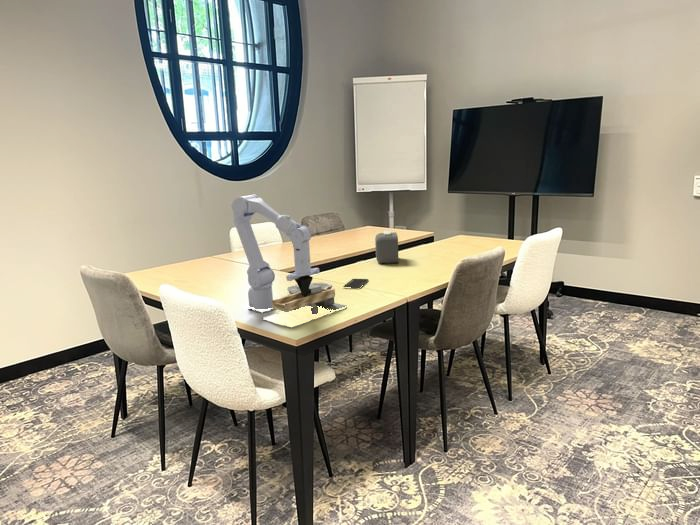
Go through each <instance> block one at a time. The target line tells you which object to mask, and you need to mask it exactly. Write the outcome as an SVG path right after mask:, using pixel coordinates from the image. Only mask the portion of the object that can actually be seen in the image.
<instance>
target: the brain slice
mask: <svg viewBox="0 0 700 525" xmlns="http://www.w3.org/2000/svg"><path fill="white" fill-rule="evenodd" d="M311 284H315V285H319V286H322V289H327V290H330V289H333V284H331V283H325V282H311V283H310V285H311ZM286 290H287V292H289V295H291V294H295V293H298V292H301V291H300V288H299V286H298V284H297V283H296V284H294V285H291V286H288V287H287V289H286Z"/></svg>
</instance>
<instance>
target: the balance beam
mask: <svg viewBox="0 0 700 525" xmlns="http://www.w3.org/2000/svg"><path fill="white" fill-rule="evenodd" d="M321 288H322V286H321ZM335 297H336V290H335V288H331V289H330V290H327V289H322V292H320V293H317V294H314V295H310V296H307V297H303V296H302V294H301V292H298V293H295V294H289V295H286V296H282V297H279V298H274V299H273V300H272V308H273V309H274V310H277V311H284V312H289V311H292V310H295V309H298V308H301V307H305V306H311V307H315V308H316V307H317V305H318V306H323V307H327V306H330V305H333V304H334V303H335Z"/></svg>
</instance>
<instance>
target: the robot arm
mask: <svg viewBox="0 0 700 525" xmlns="http://www.w3.org/2000/svg"><path fill="white" fill-rule="evenodd" d="M230 207H231V210H232V212H233V223H234V226H235V229H236V231H237V234H238V237H239V239H240V242H241V246H242V247H243V251H244V253H245V256H246V258H247V261H248V264H249V266H248V268H247V271H246V273H247V282H248V284H249V286H250V287H249V289H248V292H247V293H248V294H247V296H248V306H250V307H254V308H255V309H268V308H272V300H274V299H273V298H274V296H273V282H274V281H275V278H276V274H275V272H274V270H273V269H272V268H271V265H270V263H268V262H267V261H266V260H264V259H263V258H264V257H263V255H262V252H261V250H260V247H259V244H258V242H257V238H256V236H255V232H254V229H253V228H252V224H251V219H252V217H253V216H254V214H256V213H258V214H260V215H262V216H264V217H265V218H267V219H268V220H270V221H272V222H273V223H275V224H274V225H275V227H276V228H277V230H279V231H281V232H282V233H283V234H284V235H286V236H288V237H289V240H290V242H291V244H292V248H293V258H294V272H291V273H289V274H286V278H285V279H286V282H292V281H295V282H296V284H298V286H299V288H300V291H301V294H302V296H305V297H306V296H307V295H308V290H309V286H310V283H312V281H313V278H314V277H313V276H312V275H318V274H320V268H319V267H313V268H312V266H311V250H310V240H311V239H312V230H311V229H310V228H309V227H308V226H307V225H301V223H300V222H296V221H295V220H293V219H292V218H291V215H289V214H288V215H287V214H282V215H281V214H280V213H279V212H277V211H276V210H274V209H273V207H271V206H270V205H268V204H267V203H266V202H265V201H264V200H263V198H262V197H260V196H259V195H256V194H250V195H243V196H237V197H235V198H234V199H233V201H232V204H231V205H230Z"/></svg>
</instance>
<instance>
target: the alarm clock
mask: <svg viewBox="0 0 700 525" xmlns="http://www.w3.org/2000/svg"><path fill="white" fill-rule="evenodd" d="M374 239H375V258H376V261H377V263H379V264H382V263H385V264H399V236H398V233H397V232H391V231H390V230H384V231H383V232H380V233H377V234H376V235H375V238H374Z"/></svg>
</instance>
